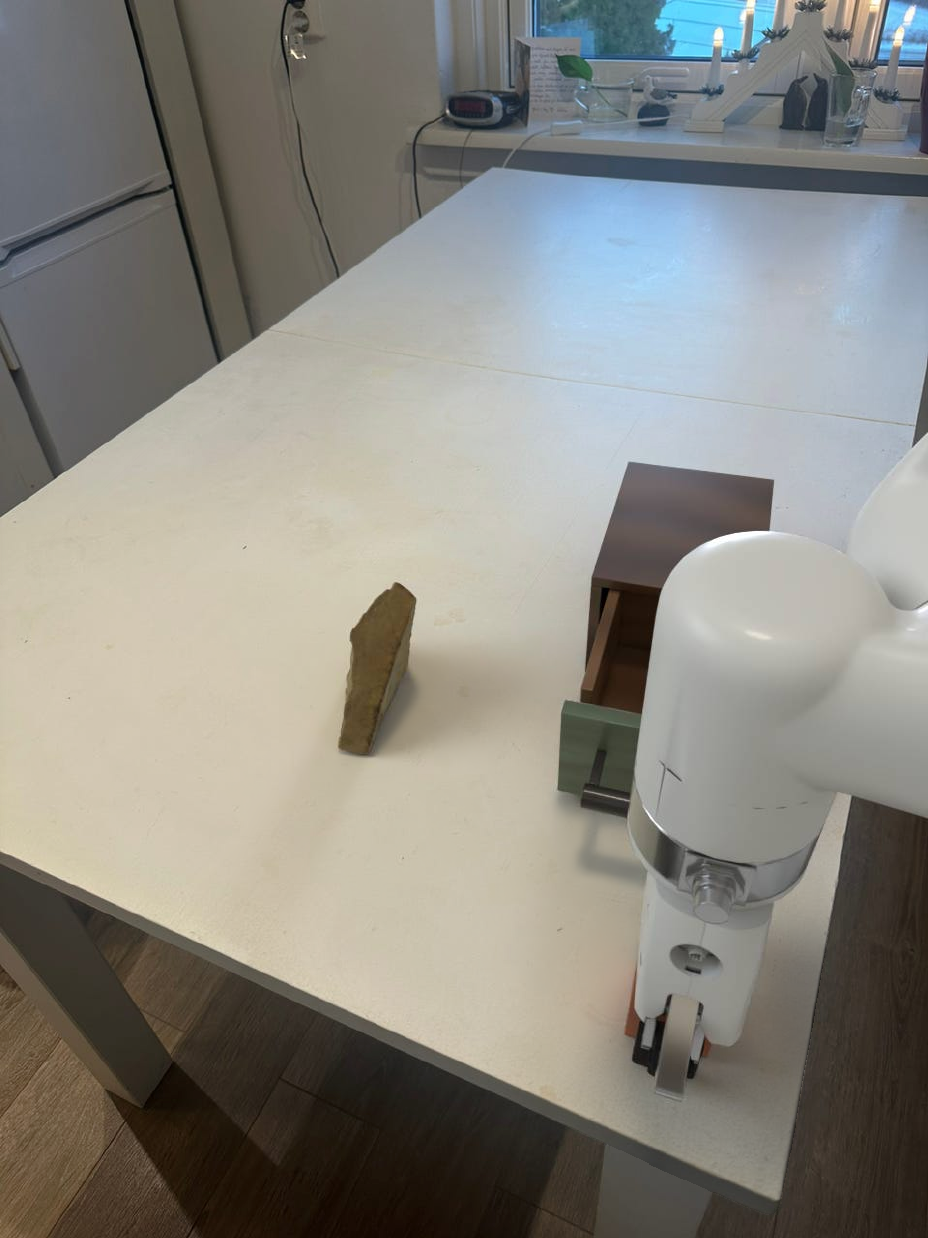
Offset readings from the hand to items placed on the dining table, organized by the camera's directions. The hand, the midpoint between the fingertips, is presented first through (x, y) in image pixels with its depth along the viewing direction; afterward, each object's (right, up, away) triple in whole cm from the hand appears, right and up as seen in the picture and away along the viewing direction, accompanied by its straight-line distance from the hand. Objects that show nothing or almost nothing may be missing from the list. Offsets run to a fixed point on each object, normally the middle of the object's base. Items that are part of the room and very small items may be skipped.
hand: (671, 1002), depth 48 cm
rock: (-19, +15, +19) cm, 30 cm away
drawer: (+1, +12, +13) cm, 18 cm away
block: (0, 0, 0) cm, 1 cm away
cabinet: (+6, +21, +24) cm, 32 cm away
